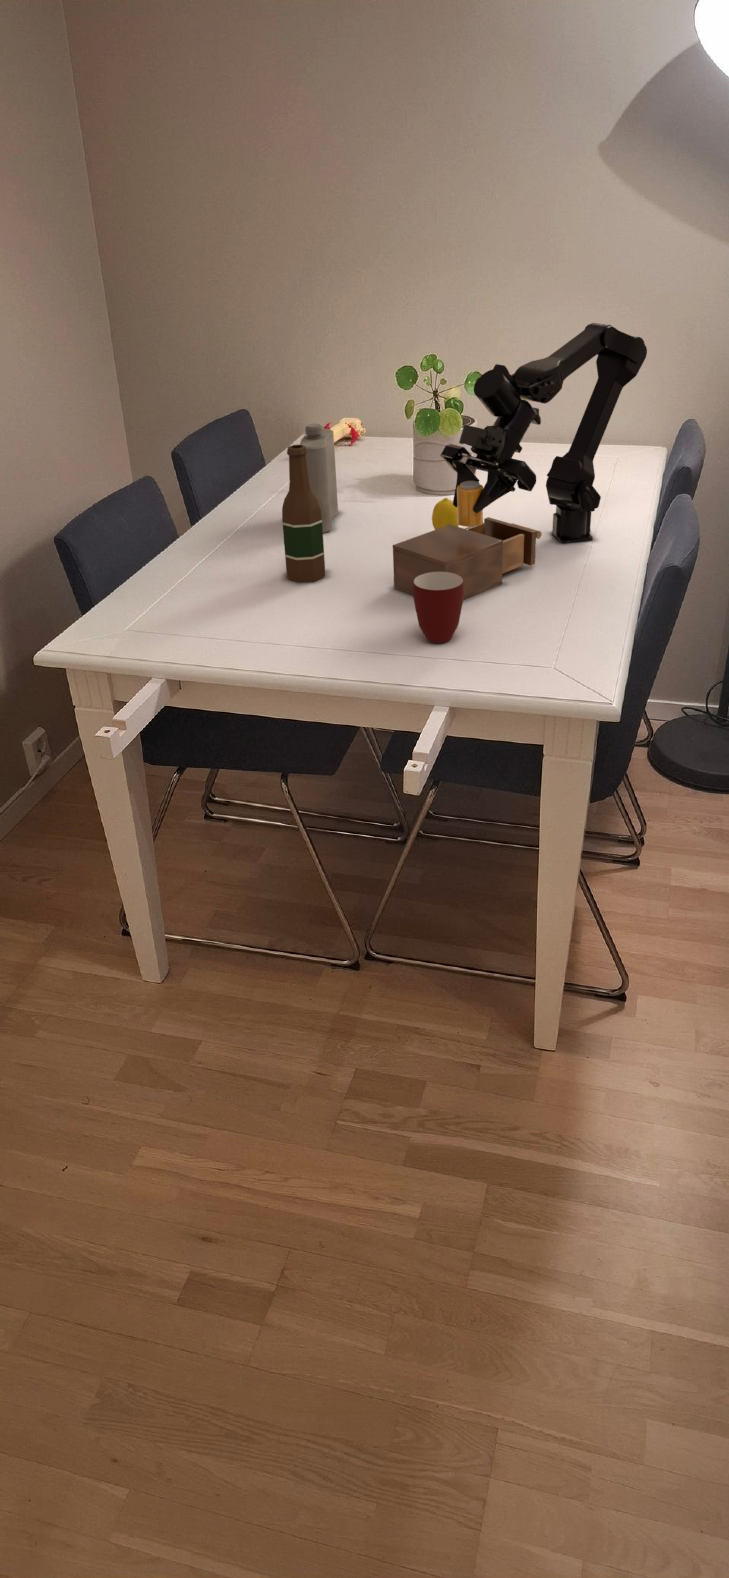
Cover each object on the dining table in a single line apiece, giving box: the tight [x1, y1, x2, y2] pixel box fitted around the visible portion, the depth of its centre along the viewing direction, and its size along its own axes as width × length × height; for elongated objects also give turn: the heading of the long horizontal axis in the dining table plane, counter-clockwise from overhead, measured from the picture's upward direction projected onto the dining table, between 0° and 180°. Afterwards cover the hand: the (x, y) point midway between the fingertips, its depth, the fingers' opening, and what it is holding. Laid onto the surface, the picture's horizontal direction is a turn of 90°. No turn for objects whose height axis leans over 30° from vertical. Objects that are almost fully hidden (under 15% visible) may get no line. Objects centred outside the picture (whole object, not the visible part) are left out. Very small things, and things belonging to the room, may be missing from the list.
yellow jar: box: [457, 481, 484, 528], centre depth 194 cm, size 5×5×7 cm
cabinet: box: [392, 525, 503, 601], centre depth 196 cm, size 15×13×8 cm
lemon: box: [431, 497, 460, 530], centre depth 218 cm, size 6×6×8 cm
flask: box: [299, 423, 339, 534], centre depth 226 cm, size 15×6×20 cm, turn 173°
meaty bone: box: [323, 417, 367, 446], centre depth 279 cm, size 10×9×25 cm
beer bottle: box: [281, 444, 326, 583], centre depth 199 cm, size 8×8×24 cm
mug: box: [412, 572, 464, 644], centre depth 177 cm, size 10×8×10 cm
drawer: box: [464, 516, 542, 575], centre depth 203 cm, size 18×12×6 cm, turn 132°
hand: (464, 508), depth 193 cm, fingers closed on yellow jar, 4 cm apart
